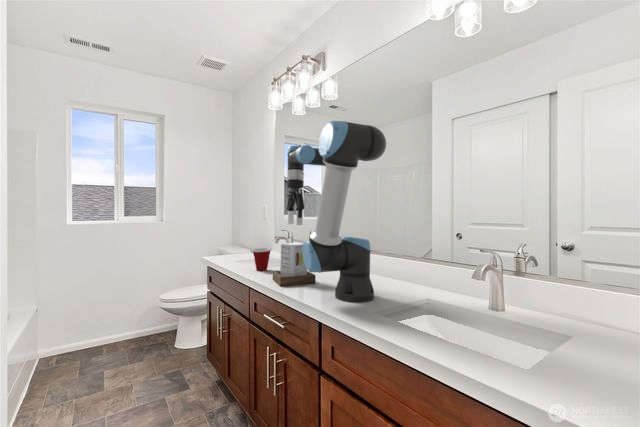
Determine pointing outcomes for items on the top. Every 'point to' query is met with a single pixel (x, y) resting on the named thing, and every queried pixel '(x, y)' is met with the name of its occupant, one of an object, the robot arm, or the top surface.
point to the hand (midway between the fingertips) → (294, 224)
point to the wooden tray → (293, 279)
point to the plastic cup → (261, 258)
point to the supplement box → (292, 260)
